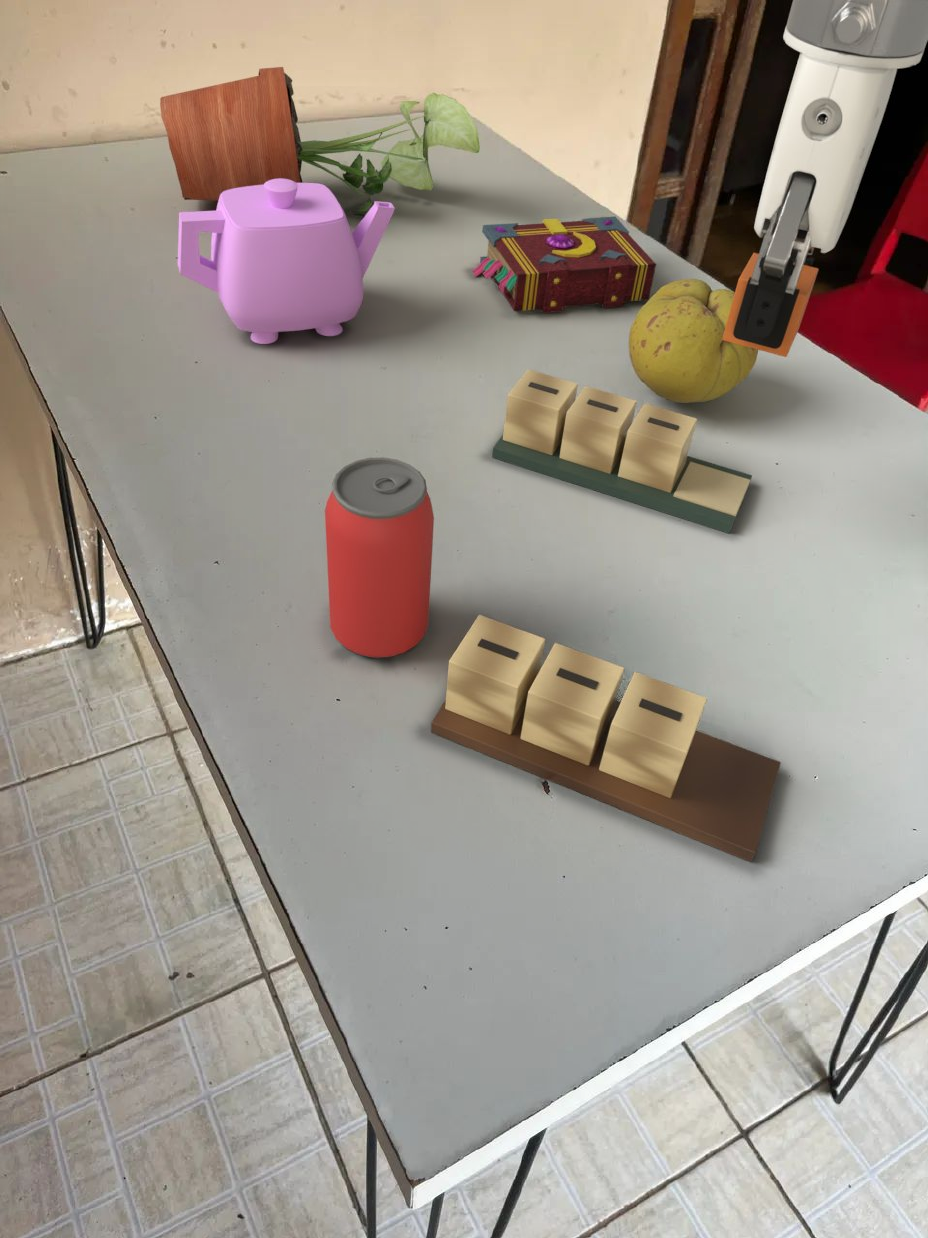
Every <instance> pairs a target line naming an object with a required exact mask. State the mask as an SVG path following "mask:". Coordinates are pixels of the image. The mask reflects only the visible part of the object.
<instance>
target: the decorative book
mask: <svg viewBox="0 0 928 1238" xmlns="http://www.w3.org/2000/svg"><path fill="white" fill-rule="evenodd" d="M481 232H482V233H483V235H484V236H485V238H486V239H487V240H488V241H487V254H486V256H480V257H479V265H477V267H475V268H474V269H473V270H472V271H471V272H472V274H473V275H474V276H475V277H478V276H479V275H480V274H483V276H484V278H485V279H486V280H488V279H490V280H492V279H493V281H494V283H495V284H496V286H497V287H498V288H499V290H500V292H501V294H502V295H503V296H504V298H505V299H506V301H507V302H508V303H509V305H510V307H511V308H512V310H513V311H514V312H523V311H534V310H540V311H542V313H543V314H548V313H559V312H563V311H564V308H569V307H579V306H590V305H601V306H602V307H603V308H614V307H623V305H624V303H625V302H635V301H636V302H637V301H646V300H647V301H649V300H650V296H651V295H650V294H651V290H652V285H653V280H654V277H655V276H654V275H655V270H656V266H657V263H656V262H655V261H654V260H653V259H652V257H650V256H649V255H648V253H647V252H646V251H645V250H644V249H643V248H642V247H641V246H640V245H639V244H638V243H637V242H636V240H635V239H634V238H633V237H632V236H631V234H630V231H629V230H628V228H627V227H626V226H625V225H624V224H623V223H622V222H621V221H620V220H619V219H618V217H617V216H602V217H600V216H599V217H589V218H582V219H581V220H576V221H575V220H573V221H560V220H559V219H558V218H544V219H542V223H529V224H519V223H518V222H511V223H493V224H482V231H481Z"/></svg>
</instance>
